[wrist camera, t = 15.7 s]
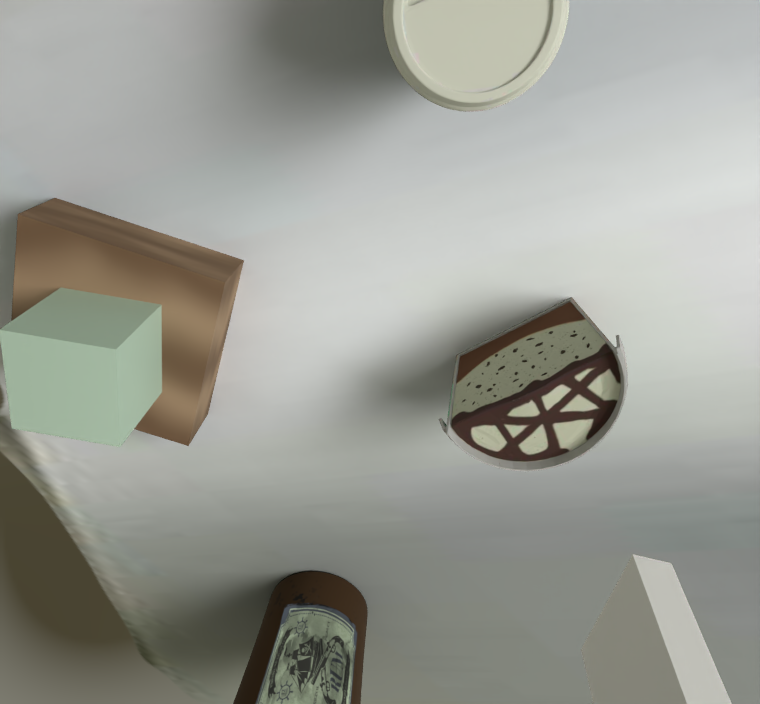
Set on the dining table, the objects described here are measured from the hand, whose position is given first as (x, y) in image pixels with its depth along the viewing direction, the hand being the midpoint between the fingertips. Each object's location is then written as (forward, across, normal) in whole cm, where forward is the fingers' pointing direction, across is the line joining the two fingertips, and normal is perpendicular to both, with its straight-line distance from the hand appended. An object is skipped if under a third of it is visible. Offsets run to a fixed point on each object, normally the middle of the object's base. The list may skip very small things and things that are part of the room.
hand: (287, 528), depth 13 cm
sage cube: (+30, -17, -15) cm, 38 cm away
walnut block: (+35, -17, -15) cm, 42 cm away
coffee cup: (+35, +2, +10) cm, 36 cm away
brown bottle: (+35, +2, -41) cm, 54 cm away
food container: (+35, +13, -11) cm, 39 cm away
